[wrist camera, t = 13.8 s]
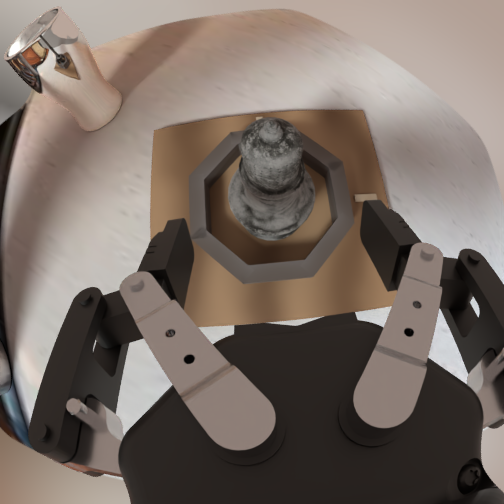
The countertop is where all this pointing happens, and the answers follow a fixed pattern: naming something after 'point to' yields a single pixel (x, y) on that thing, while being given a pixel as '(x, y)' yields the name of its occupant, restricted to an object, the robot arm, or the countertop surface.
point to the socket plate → (280, 251)
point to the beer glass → (64, 69)
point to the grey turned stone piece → (271, 180)
